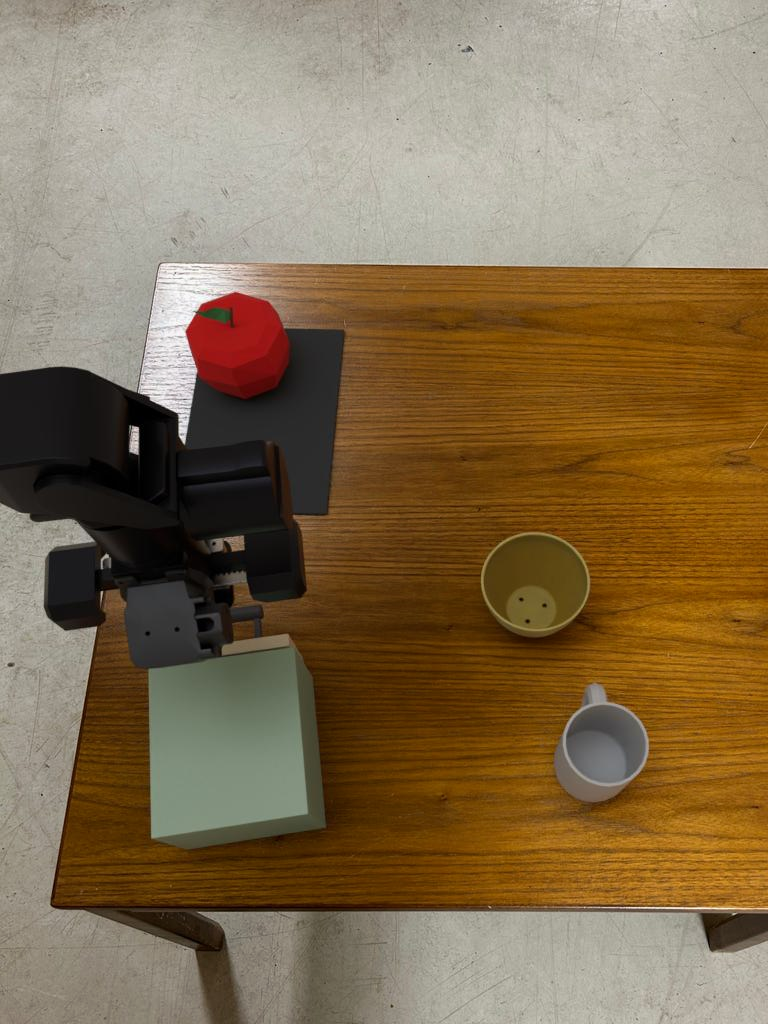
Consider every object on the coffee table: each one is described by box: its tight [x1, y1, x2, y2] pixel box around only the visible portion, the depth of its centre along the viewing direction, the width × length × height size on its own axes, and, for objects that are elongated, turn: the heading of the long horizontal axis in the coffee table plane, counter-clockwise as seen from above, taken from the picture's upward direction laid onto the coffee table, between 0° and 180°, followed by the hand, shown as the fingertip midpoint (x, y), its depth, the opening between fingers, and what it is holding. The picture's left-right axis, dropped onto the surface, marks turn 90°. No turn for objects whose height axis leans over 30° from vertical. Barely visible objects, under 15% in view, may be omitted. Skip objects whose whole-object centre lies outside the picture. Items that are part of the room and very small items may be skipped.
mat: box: [184, 327, 345, 516], centre depth 88 cm, size 16×24×1 cm, turn 179°
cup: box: [553, 682, 650, 803], centre depth 72 cm, size 7×10×9 cm
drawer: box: [207, 604, 304, 662], centre depth 73 cm, size 18×11×7 cm, turn 9°
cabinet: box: [147, 647, 327, 851], centre depth 71 cm, size 15×13×9 cm
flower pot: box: [480, 531, 591, 638], centre depth 77 cm, size 10×10×7 cm
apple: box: [185, 291, 289, 399], centre depth 85 cm, size 11×11×10 cm
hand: (211, 613), depth 69 cm, fingers closed
